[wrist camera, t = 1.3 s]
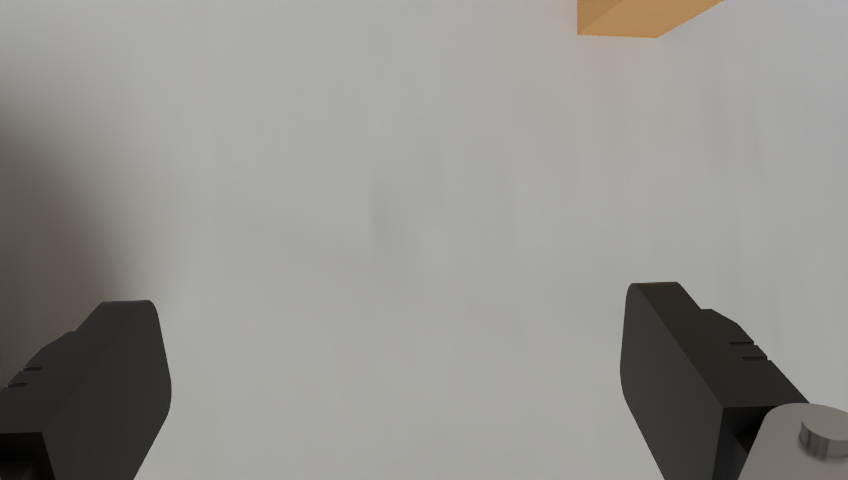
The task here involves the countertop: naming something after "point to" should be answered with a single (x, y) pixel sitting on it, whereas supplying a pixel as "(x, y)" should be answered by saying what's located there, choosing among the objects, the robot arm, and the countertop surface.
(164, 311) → the countertop surface
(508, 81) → the countertop surface
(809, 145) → the countertop surface
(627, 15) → the chute block
